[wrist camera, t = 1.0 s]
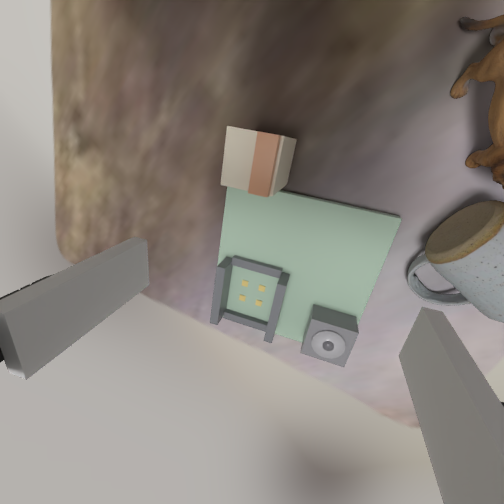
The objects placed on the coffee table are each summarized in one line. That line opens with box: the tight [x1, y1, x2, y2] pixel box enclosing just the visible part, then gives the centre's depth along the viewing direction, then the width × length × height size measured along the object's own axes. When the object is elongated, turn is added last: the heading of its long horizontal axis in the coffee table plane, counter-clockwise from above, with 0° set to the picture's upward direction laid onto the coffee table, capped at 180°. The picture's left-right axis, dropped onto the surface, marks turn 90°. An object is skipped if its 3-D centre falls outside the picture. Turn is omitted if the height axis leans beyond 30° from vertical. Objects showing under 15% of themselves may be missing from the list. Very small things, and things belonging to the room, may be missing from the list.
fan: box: [301, 304, 359, 367], centre depth 30 cm, size 5×5×4 cm
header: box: [210, 255, 290, 343], centre depth 32 cm, size 9×8×3 cm
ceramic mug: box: [407, 200, 504, 322], centre depth 23 cm, size 11×8×8 cm
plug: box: [220, 126, 297, 197], centre depth 24 cm, size 4×4×9 cm
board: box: [217, 186, 402, 342], centre depth 31 cm, size 18×18×1 cm
